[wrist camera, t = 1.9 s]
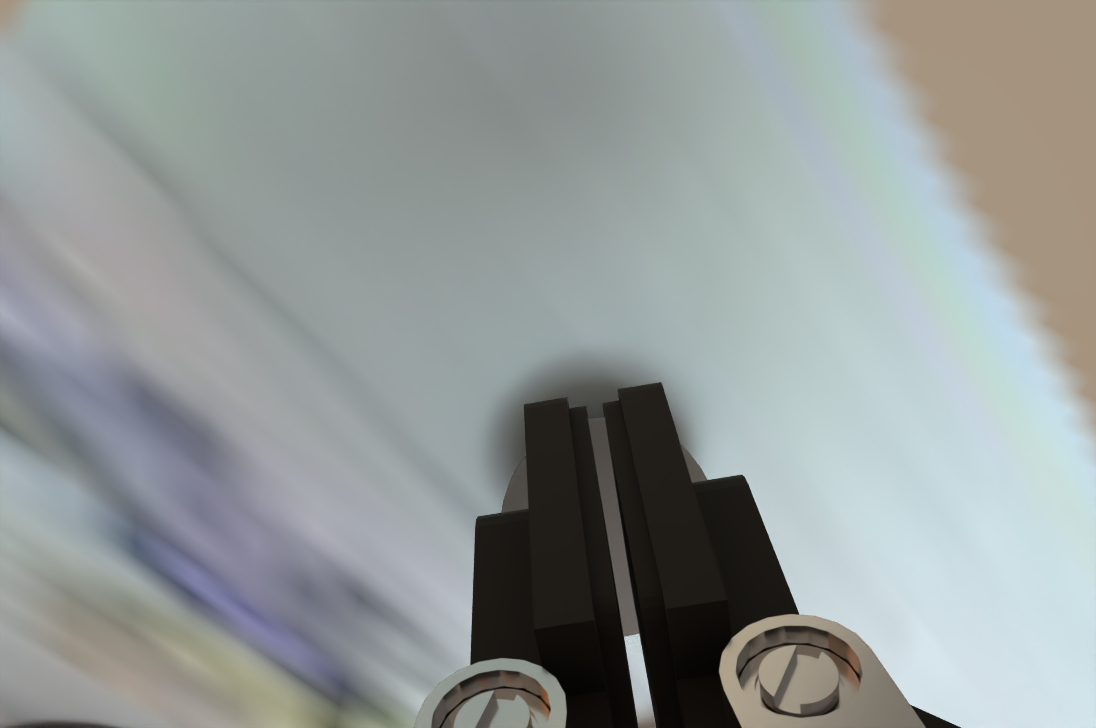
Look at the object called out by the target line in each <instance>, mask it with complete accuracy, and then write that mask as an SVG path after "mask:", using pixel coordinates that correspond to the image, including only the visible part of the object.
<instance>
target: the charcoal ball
mask: <svg viewBox="0 0 1096 728" xmlns="http://www.w3.org/2000/svg"><path fill="white" fill-rule="evenodd" d="M588 421H589V427H590V433H591V439H592V446H593V452H594V458H595V464H596V470H597V476H598V482H599V488H600V494H601V500H602V506H603V512H604V518H605V524H606V530H607V536H608V542H609V548H610V554H611V560H612V566H613V572H614V578H615V584H616V591H617V597H618V603H619V609H620V616H621V622H622V628H623V635H624V636H630V635H634V634H639V628H638V622H637V617H636V611H635V606H634V600H633V594H632V588H631V582H630V576H629V570H628V564H627V557H626V551H625V544H624V538H623V532H622V525H621V519H620V512H619V506H618V500H617V493H616V487H615V480H614V474H613V468H612V461H611V455H610V448H609V442H608V436H607V429H606V423H605V417H598V418H590V419H588ZM680 445H681V444H680ZM681 448H682V451H683V455H684V458H685V461H686V465H687V468H688V471H689V474H690V478H691V481H692V483H693V482H699V481H706V480H707V478H706V477H705V475H704V473H703V471H702V469H701V468H700V466H699V465H698V464H697V462H696V461H695V460H694V458H693V457H692V456H691V455H690V453H689V452H688V451H687V450H686V449H685V448H684V447H683V446H682V445H681ZM522 509H528V487H527V464H526V456H525V457H524V459H523V460H522V462H521V463H520V464H519V466H518V467H517V469H516V470H515V472H514V474H513V476H512V478H511V480H510V482H509V485H508V488H507V491H506V494H505V497H504V500H503V506H502V512H501V513H503V512H510V511H516V510H522Z"/></svg>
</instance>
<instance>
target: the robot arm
mask: <svg viewBox="0 0 1096 728" xmlns="http://www.w3.org/2000/svg"><path fill="white" fill-rule="evenodd" d="M618 397H619V401H614V402H608V403H603V410H604V416H605V423H606V429H607V436H608V442H609V448H610V455H611V461H612V468H613V474H614V480H615V487H616V493H617V500H618V506H619V512H620V519H621V525H622V532H623V538H624V544H625V551H626V557H627V564H628V570H629V576H630V582H631V588H632V594H633V600H634V606H635V611H636V617H637V622H638V628H639V634H640V639H641V645H642V650H643V656H644V662H645V667H646V673H647V678H648V684H649V690H650V695H651V701H652V706H653V712H654V717H655V723H656V728H961V727H958V726H956V725H954V724H952V723H949V722H947V721H945V720H943V719H941V718H938V717H936V716H934V715H932V714H930V713H927V712H925V711H923V710H921V709H918V708H916V707H914V706H912V705H910V704H909V703H908V701H907V700H906V698H905V697H904V695H903V694H902V693H901V691H900V690H899V688H898V687H897V685H896V684H895V682H894V681H893V680H892V678H891V677H890V675H889V674H888V672H887V671H886V669H885V668H884V667H883V665H882V664H881V662H880V661H879V659H878V658H877V656H876V655H875V654H874V652H873V651H872V649H871V648H870V647H869V646H868V645H867V644H866V643H865V642H864V641H863V640H862V639H861V638H860V637H859V636H858V635H857V634H856V633H854V632H852V631H851V630H849V629H847V628H846V627H844V626H842V625H840V624H839V623H837V622H833V621H830V620H827V619H823V618H820V617H817V616H809V615H799V612H798V610H797V607H796V605H795V602H794V599H793V597H792V594H791V592H790V589H789V587H788V584H787V582H786V579H785V577H784V574H783V571H782V569H781V566H780V564H779V561H778V559H777V556H776V554H775V551H774V549H773V546H772V544H771V541H770V538H769V536H768V533H767V531H766V528H765V526H764V523H763V521H762V518H761V516H760V513H759V510H758V508H757V505H756V503H755V500H754V498H753V495H752V493H751V490H750V488H749V485H748V483H747V481H746V479H745V477H744V476H743V475H737V476H731V477H725V478H718V479H712V480H706V481H699V482H693V483H692V481H691V478H690V474H689V471H688V468H687V465H686V461H685V458H684V455H683V451H682V448H681V445H680V442H679V438H678V435H677V432H676V429H675V425H674V422H673V419H672V415H671V412H670V409H669V406H668V402H667V399H666V396H665V393H664V389H663V386H662V383H661V382H659V383H653V384H647V385H641V386H635V387H628V388H622V389H618ZM524 418H525V441H526V464H527V487H528V509H522V510H516V511H510V512H503V513H497V514H491V515H484V516H478V517H477V519H476V526H475V551H474V579H473V606H472V634H471V662H470V666H468V667H465V668H463V669H460V670H458V671H456V672H455V673H453V674H452V675H450V676H449V677H448V678H446V679H445V680H443V681H442V682H440V683H439V684H438V685H437V686H436V687H435V689H434V690H433V691H432V692H431V693H430V694H429V695H428V697H427V698H426V699H425V700H424V703H423V705H422V707H421V709H420V711H419V713H418V715H417V718H416V721H415V725H414V728H638V723H637V717H636V710H635V704H634V698H633V691H632V685H631V679H630V672H629V666H628V660H627V654H626V647H625V641H624V635H623V628H622V622H621V616H620V609H619V603H618V597H617V591H616V584H615V578H614V572H613V566H612V560H611V554H610V548H609V542H608V536H607V530H606V524H605V518H604V512H603V506H602V500H601V494H600V488H599V482H598V476H597V470H596V464H595V458H594V452H593V446H592V439H591V433H590V427H589V421H588V415H587V409H586V406H583V407H577V408H571V409H569V404H568V399H567V398H561V399H554V400H548V401H542V402H536V403H530V404H525V405H524Z"/></svg>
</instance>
